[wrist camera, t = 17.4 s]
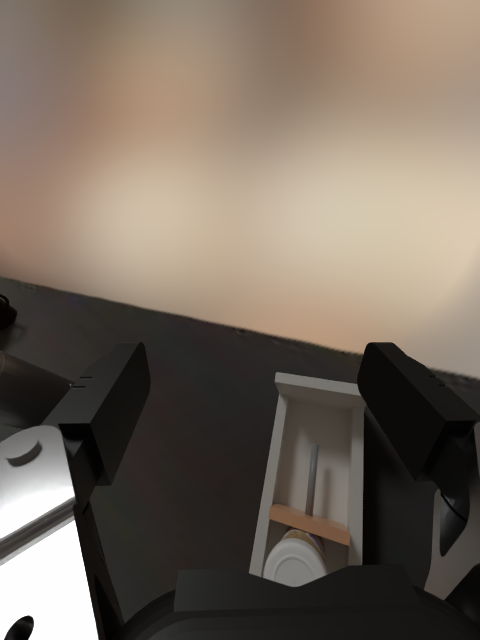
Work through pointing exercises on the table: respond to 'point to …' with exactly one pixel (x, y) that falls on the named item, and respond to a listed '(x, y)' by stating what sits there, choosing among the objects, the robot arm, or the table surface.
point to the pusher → (310, 512)
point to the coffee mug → (6, 313)
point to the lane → (332, 467)
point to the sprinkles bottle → (296, 559)
